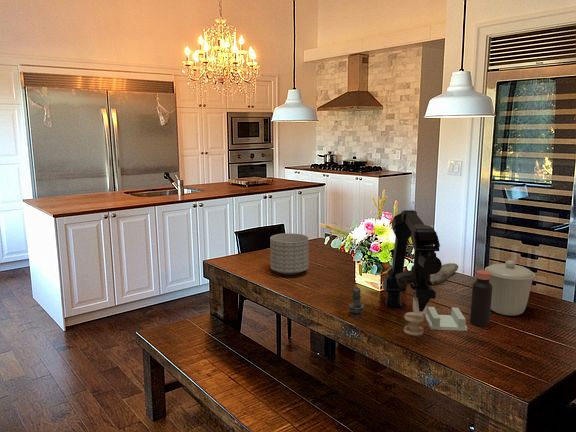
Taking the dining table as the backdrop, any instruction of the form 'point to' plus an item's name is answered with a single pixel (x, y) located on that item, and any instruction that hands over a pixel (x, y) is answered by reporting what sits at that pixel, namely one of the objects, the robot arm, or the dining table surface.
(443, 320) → the notch board
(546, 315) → the dining table surface
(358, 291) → the flange bolt
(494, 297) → the canister
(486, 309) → the bottle
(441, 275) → the long grey stone
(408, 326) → the bobbin
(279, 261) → the planter
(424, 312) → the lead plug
